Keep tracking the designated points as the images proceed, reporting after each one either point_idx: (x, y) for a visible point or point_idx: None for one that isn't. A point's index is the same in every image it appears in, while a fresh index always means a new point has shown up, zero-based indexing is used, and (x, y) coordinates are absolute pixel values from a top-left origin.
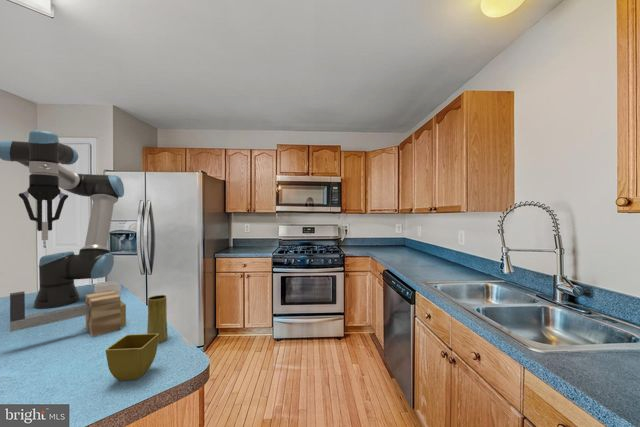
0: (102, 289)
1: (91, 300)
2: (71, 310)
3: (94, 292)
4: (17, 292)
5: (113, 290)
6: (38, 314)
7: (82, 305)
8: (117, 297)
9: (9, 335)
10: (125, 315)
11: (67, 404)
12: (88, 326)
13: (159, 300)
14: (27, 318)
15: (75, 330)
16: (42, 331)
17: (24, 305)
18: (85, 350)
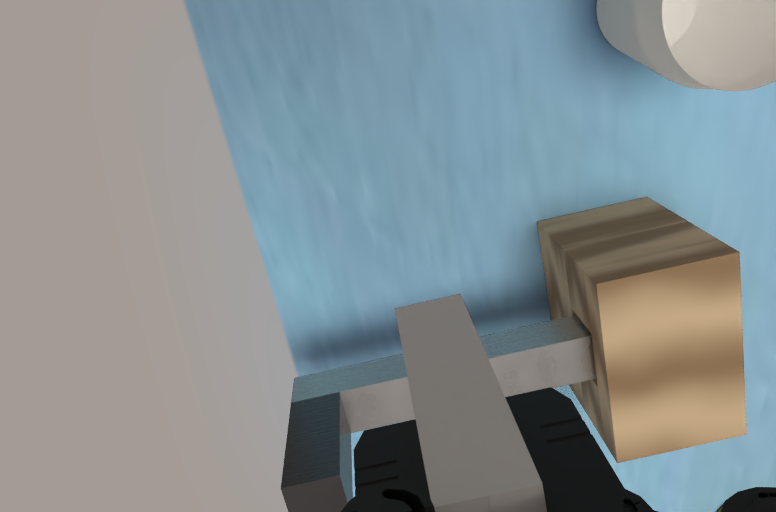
0: (692, 82)
1: (616, 436)
2: (519, 393)
3: (637, 29)
4: (312, 486)
5: (748, 79)
6: (391, 392)
7: (565, 347)
8: (730, 435)
9: (238, 132)
10: None
11: None
12: (553, 297)
13: None
14: (359, 430)
15: (497, 243)
16: (366, 165)
17: (351, 476)
18: None
